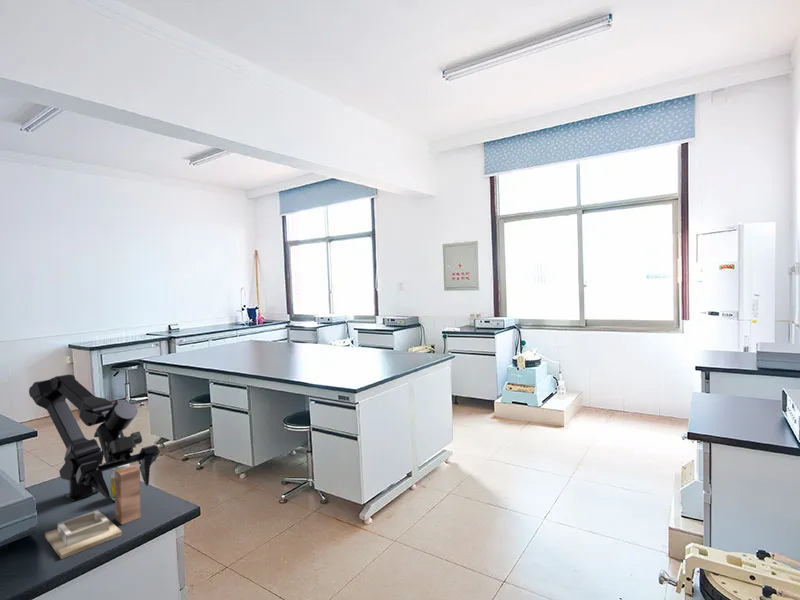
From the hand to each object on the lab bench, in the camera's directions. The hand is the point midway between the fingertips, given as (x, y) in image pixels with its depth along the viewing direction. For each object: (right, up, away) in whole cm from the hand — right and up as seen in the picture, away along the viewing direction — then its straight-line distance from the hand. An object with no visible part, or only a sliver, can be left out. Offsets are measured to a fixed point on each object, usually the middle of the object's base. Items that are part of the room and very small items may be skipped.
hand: (128, 491), depth 113 cm
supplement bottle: (-10, -7, +12) cm, 18 cm away
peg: (0, -7, 0) cm, 7 cm away
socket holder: (-6, -8, -8) cm, 12 cm away
